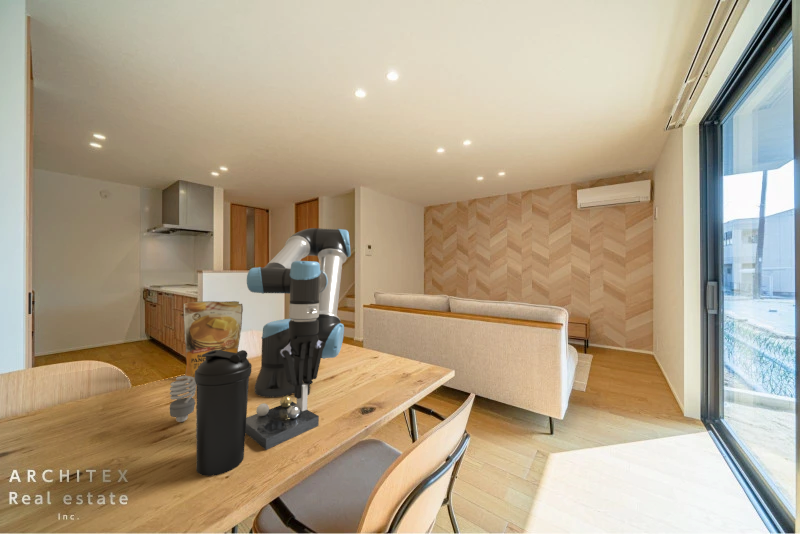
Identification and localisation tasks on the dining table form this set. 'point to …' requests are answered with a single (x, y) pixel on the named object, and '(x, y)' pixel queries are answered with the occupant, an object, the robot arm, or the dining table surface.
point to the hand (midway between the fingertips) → (301, 408)
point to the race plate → (279, 426)
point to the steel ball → (293, 411)
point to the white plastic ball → (262, 409)
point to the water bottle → (221, 411)
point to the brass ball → (285, 401)
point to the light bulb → (182, 398)
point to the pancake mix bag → (210, 330)
